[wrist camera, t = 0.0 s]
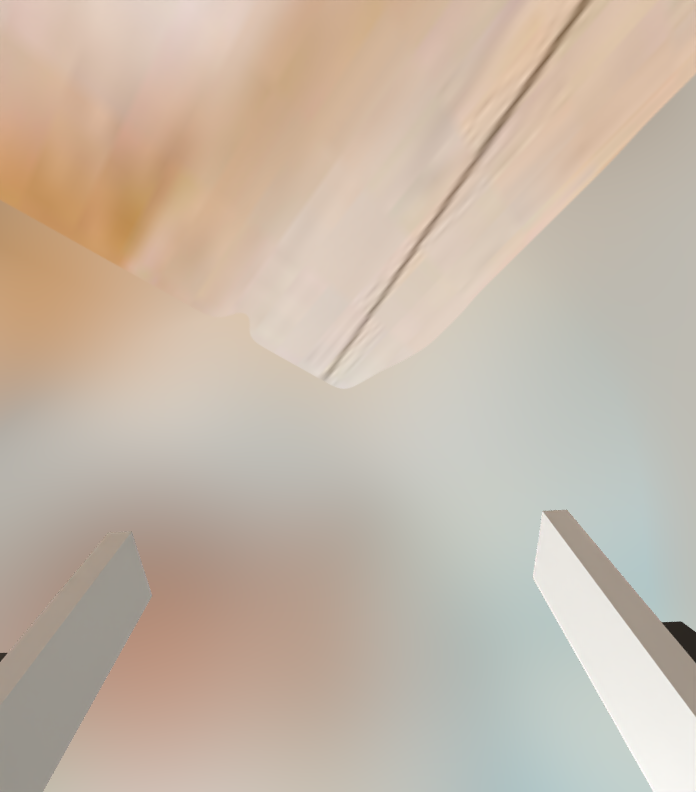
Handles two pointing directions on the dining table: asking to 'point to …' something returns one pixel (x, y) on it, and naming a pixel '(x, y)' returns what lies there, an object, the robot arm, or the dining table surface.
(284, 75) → the dining table surface
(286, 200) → the dining table surface
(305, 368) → the dining table surface
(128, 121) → the dining table surface
